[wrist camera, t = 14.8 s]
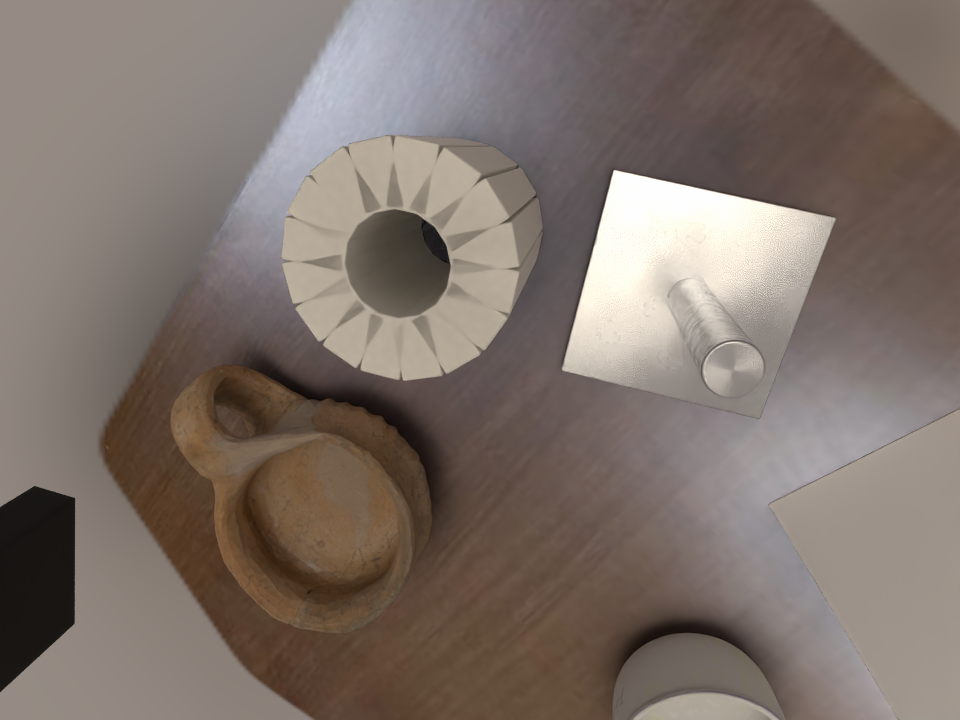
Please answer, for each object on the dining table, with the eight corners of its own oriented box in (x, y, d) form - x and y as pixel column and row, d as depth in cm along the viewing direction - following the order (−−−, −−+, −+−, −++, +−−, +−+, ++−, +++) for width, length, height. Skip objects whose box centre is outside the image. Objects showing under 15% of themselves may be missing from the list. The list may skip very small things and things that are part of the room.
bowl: (158, 472, 47) (69, 518, 37) (272, 314, 46) (213, 316, 36) (360, 618, 47) (328, 702, 37) (477, 466, 46) (476, 510, 36)
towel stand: (613, 168, 37) (623, 180, 24) (830, 215, 36) (960, 254, 23) (561, 365, 41) (547, 464, 28) (755, 413, 40) (831, 538, 27)
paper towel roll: (390, 123, 38) (295, 112, 26) (560, 159, 37) (543, 167, 25) (366, 288, 41) (271, 348, 29) (521, 326, 40) (489, 404, 28)
